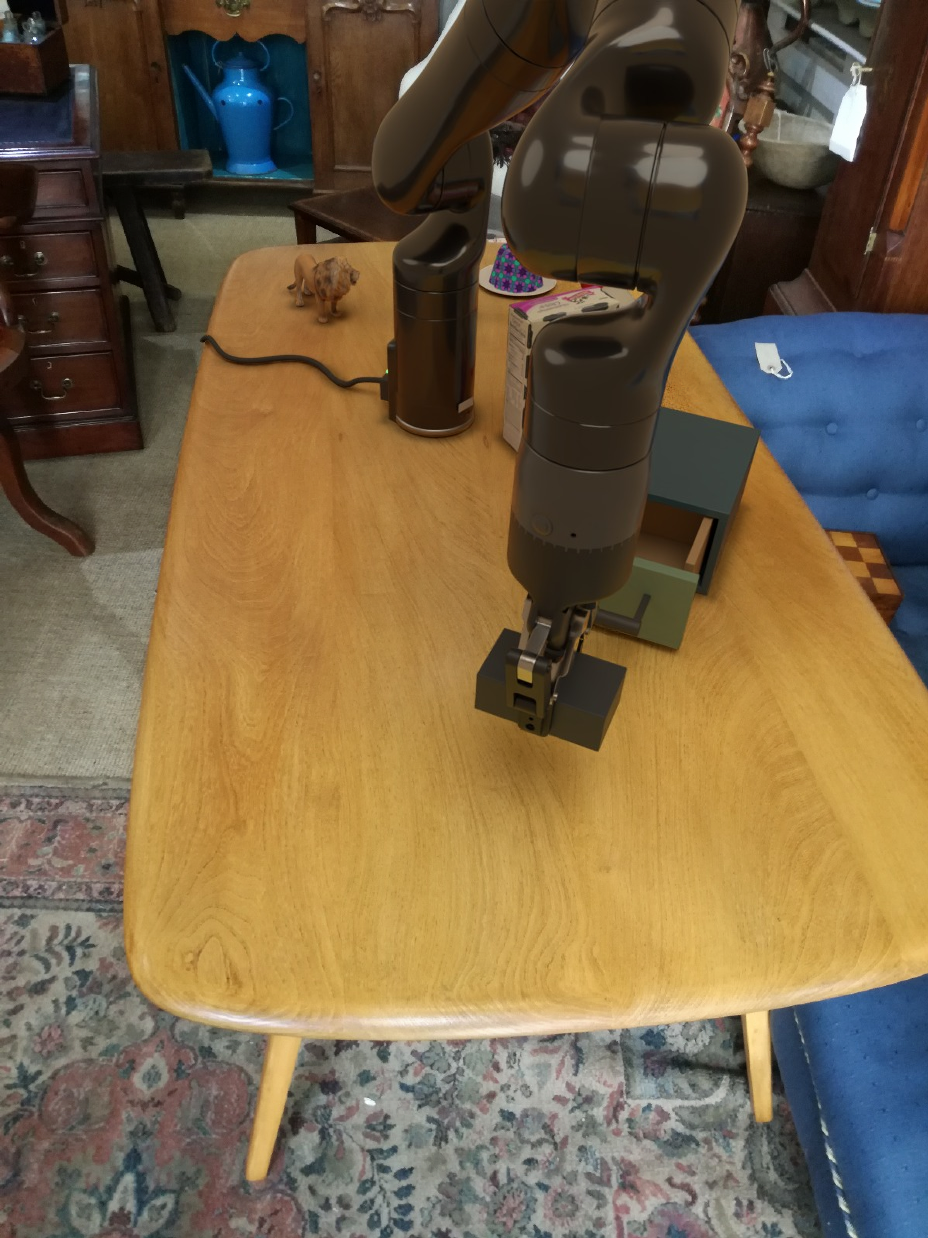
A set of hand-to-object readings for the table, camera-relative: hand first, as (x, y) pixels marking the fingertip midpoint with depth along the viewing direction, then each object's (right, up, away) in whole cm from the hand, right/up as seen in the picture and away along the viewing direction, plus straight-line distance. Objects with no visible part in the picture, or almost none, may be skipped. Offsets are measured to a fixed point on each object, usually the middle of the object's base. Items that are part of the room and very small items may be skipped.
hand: (548, 700), depth 65 cm
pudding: (+2, +56, +75) cm, 93 cm away
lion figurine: (-26, +49, +66) cm, 86 cm away
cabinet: (+14, +15, +31) cm, 37 cm away
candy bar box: (+4, +27, +44) cm, 52 cm away
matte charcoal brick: (0, 0, 0) cm, 0 cm away
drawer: (+9, +8, +22) cm, 25 cm away
